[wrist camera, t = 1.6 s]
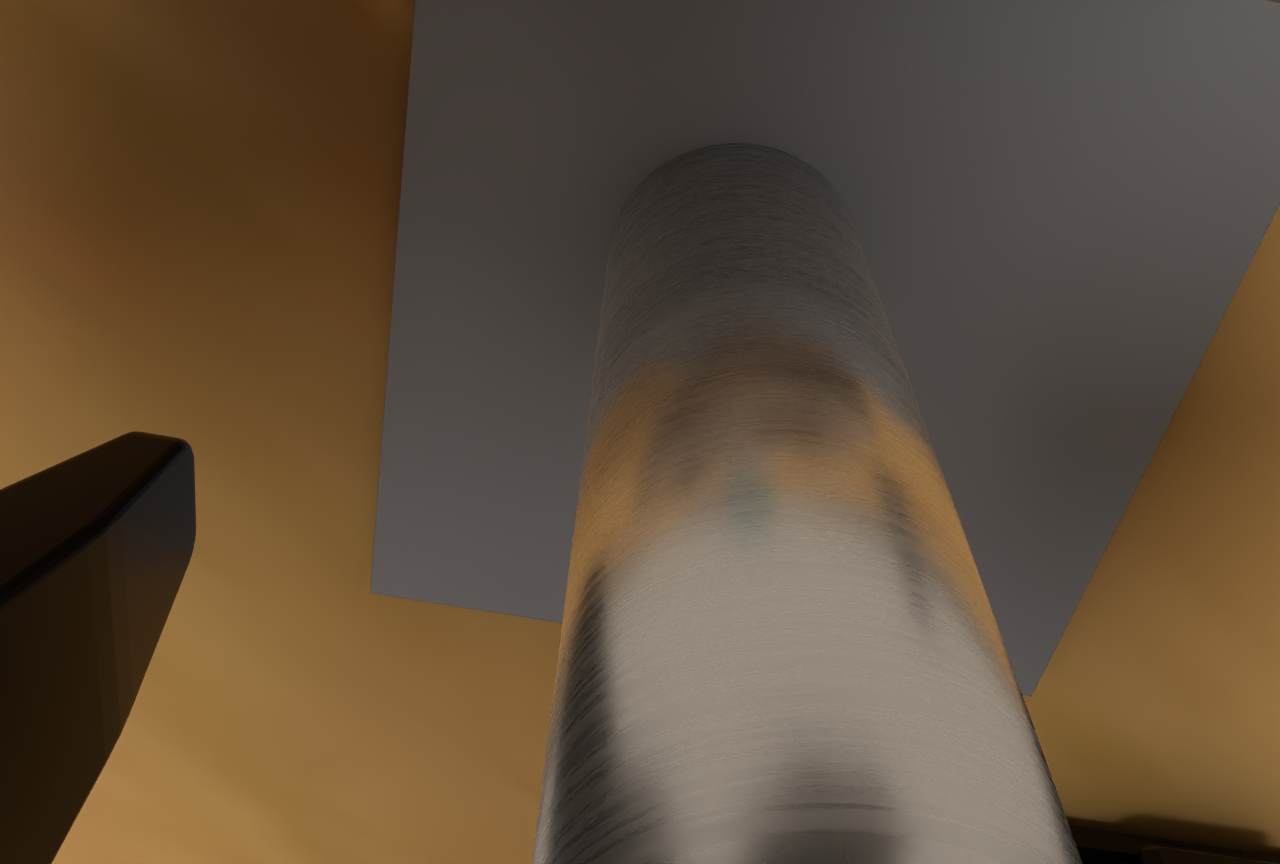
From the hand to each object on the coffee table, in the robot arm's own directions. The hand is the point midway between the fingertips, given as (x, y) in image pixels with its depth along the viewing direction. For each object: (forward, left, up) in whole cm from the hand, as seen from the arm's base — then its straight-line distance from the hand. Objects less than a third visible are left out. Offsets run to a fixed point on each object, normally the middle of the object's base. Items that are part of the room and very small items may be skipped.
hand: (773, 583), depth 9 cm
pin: (0, 0, -6) cm, 6 cm away
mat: (-1, -1, -6) cm, 6 cm away
